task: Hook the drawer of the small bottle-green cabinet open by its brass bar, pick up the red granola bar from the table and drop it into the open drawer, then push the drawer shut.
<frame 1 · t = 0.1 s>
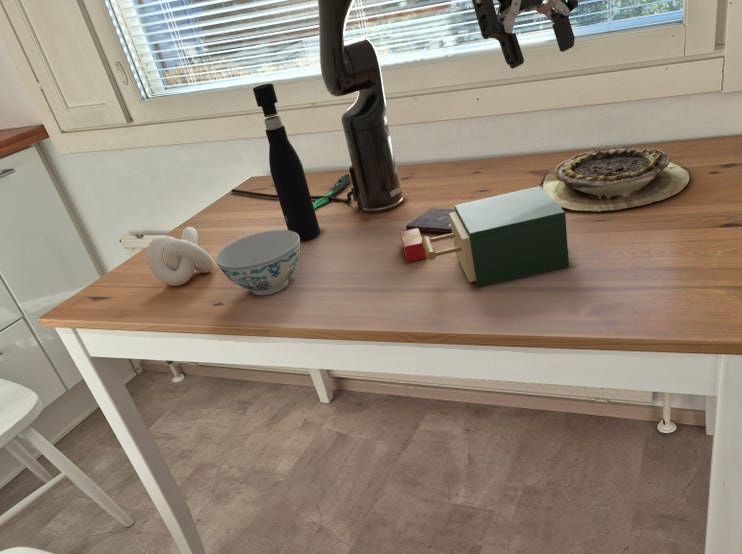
hand: (543, 57, 88), 31 cm above the table, tool tilted 20°, fingers open, 8 cm apart
chinaware: (270, 287, 122), on the table
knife: (332, 194, 162), on the table
cabinet: (512, 260, 111), on the table
granola bar: (414, 252, 122), on the table
pie: (610, 186, 131), on the table
chocolate bar: (457, 224, 130), on the table
black water bottle: (305, 236, 141), on the table
drawer: (482, 241, 109), point 5 cm above the table, slide at 0.0 cm, touching cabinet
pretzel: (190, 276, 135), on the table
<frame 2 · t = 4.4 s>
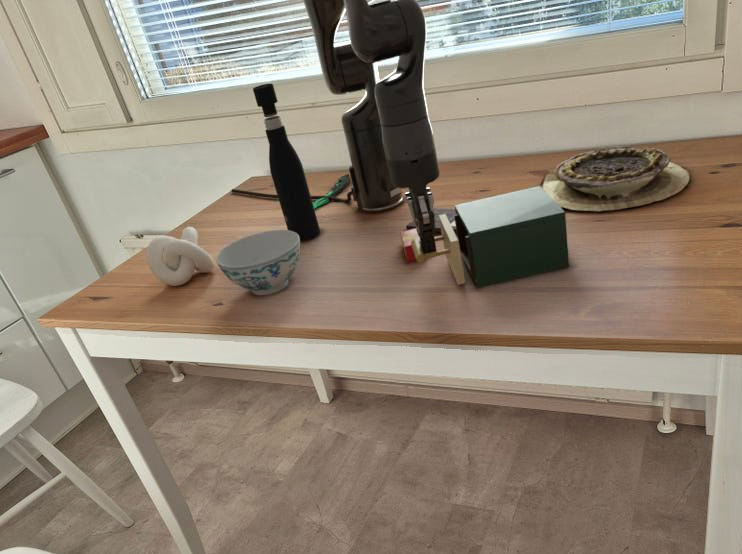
hand: (430, 256, 109), 4 cm above the table, tool pointing down, fingers closed
drawer: (471, 243, 109), point 5 cm above the table, slide at 1.8 cm, touching gripper
everything else where it was.
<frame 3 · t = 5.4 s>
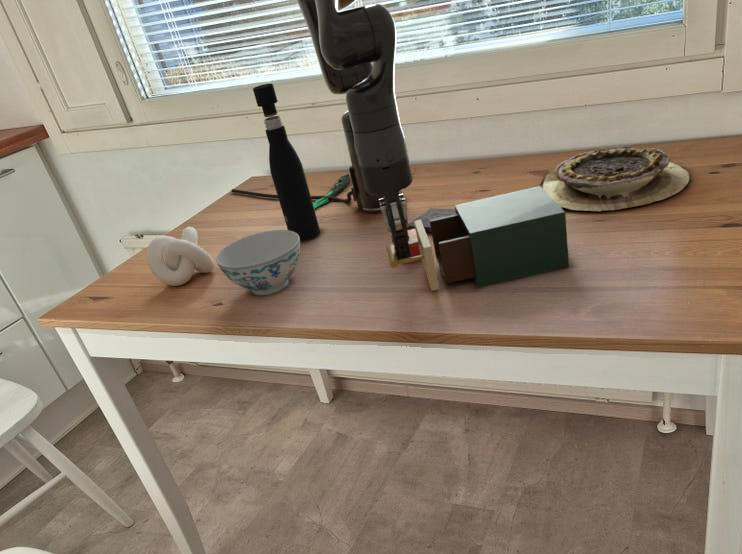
hand: (405, 261, 109), 4 cm above the table, tool pointing down, fingers closed
drawer: (446, 249, 109), point 5 cm above the table, slide at 6.0 cm, touching gripper
everything else where it was.
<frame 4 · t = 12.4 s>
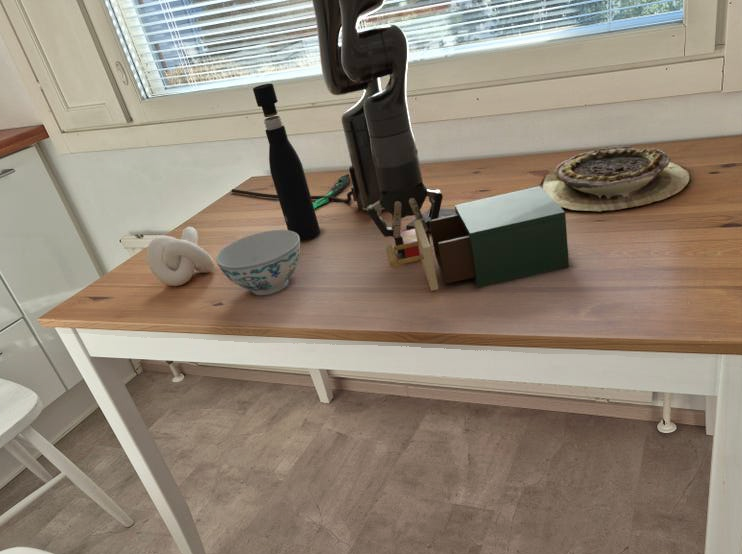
hand: (414, 251, 122), 0 cm above the table, tool pointing down, fingers closed on granola bar, 3 cm apart
granola bar: (414, 252, 122), on the table, touching gripper
drawer: (446, 249, 109), point 5 cm above the table, slide at 6.1 cm
everything else where it was.
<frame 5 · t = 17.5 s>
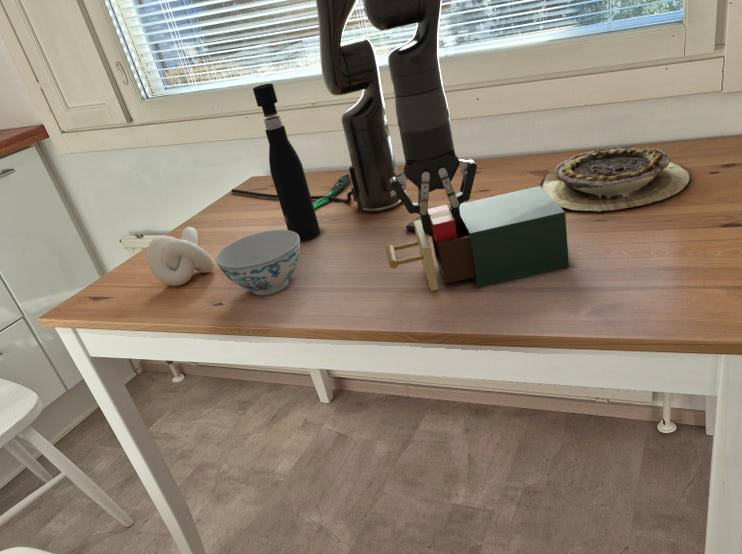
hand: (442, 231, 107), 8 cm above the table, tool pointing down, fingers closed on granola bar, 3 cm apart
granola bar: (443, 232, 108), point 8 cm above the table, touching gripper
everything else where it was.
when the fingers open (10 cm above the table, at t = 27.5 s): granola bar drops 8 cm, resting on drawer.
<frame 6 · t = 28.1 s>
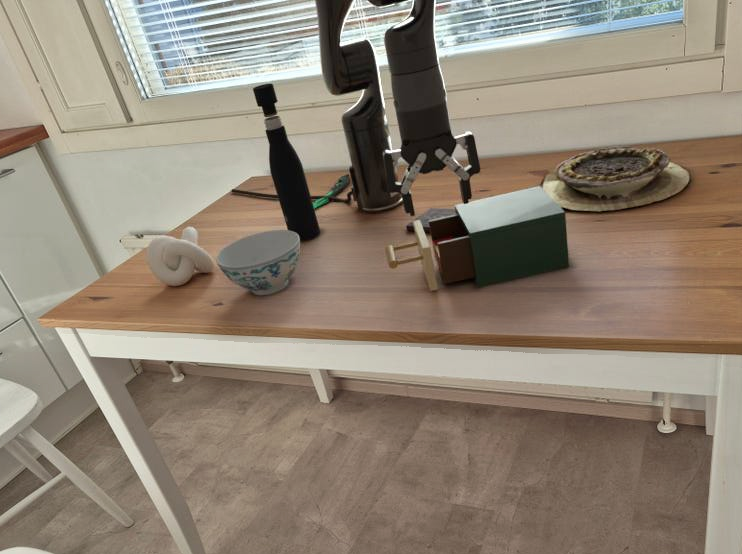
hand: (438, 208, 106), 12 cm above the table, tool pointing down, fingers open, 8 cm apart
granola bar: (448, 263, 110), point 2 cm above the table, touching drawer
drawer: (445, 249, 109), point 5 cm above the table, slide at 6.2 cm, touching granola bar
everything else where it was.
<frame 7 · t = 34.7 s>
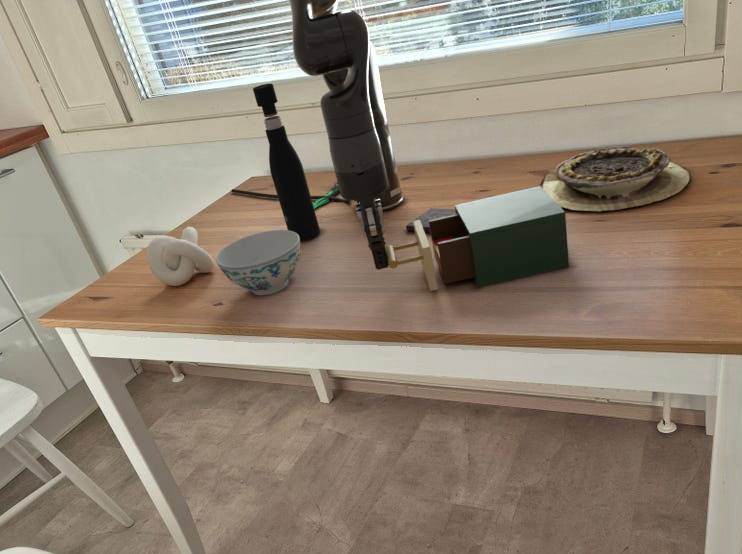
hand: (382, 266, 110), 4 cm above the table, tool pointing down, fingers closed
drawer: (445, 249, 109), point 5 cm above the table, slide at 6.2 cm, touching granola bar, gripper
everything else where it was.
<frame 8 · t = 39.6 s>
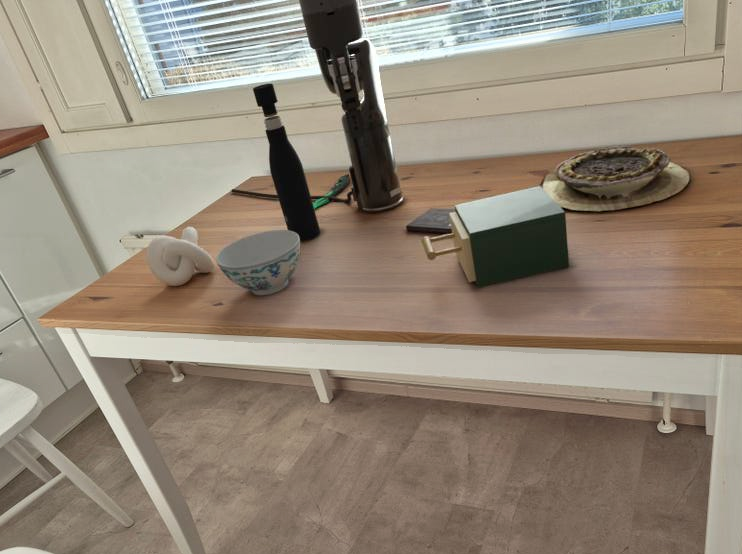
hand: (358, 136, 99), 25 cm above the table, tool pointing down, fingers closed
granola bar: (485, 255, 110), point 2 cm above the table, touching drawer
drawer: (482, 241, 109), point 5 cm above the table, slide at 0.0 cm, touching cabinet, granola bar
everything else where it was.
at the end: drawer pulled out 6.2 cm at the most during the clip, back to where it started at the end; granola bar 4.3 cm from the cabinet (horizontally); drawer slide at 0.0 cm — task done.
